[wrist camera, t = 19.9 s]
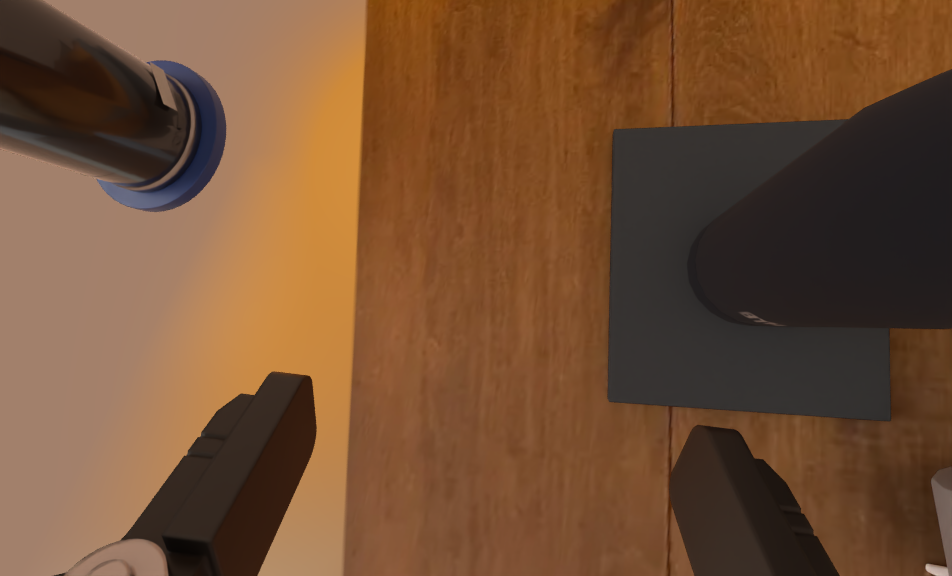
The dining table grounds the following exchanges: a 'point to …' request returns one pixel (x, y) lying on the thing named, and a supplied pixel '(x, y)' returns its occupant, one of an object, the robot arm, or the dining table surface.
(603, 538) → the dining table surface
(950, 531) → the alarm clock
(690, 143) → the mat
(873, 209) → the insulated water bottle
